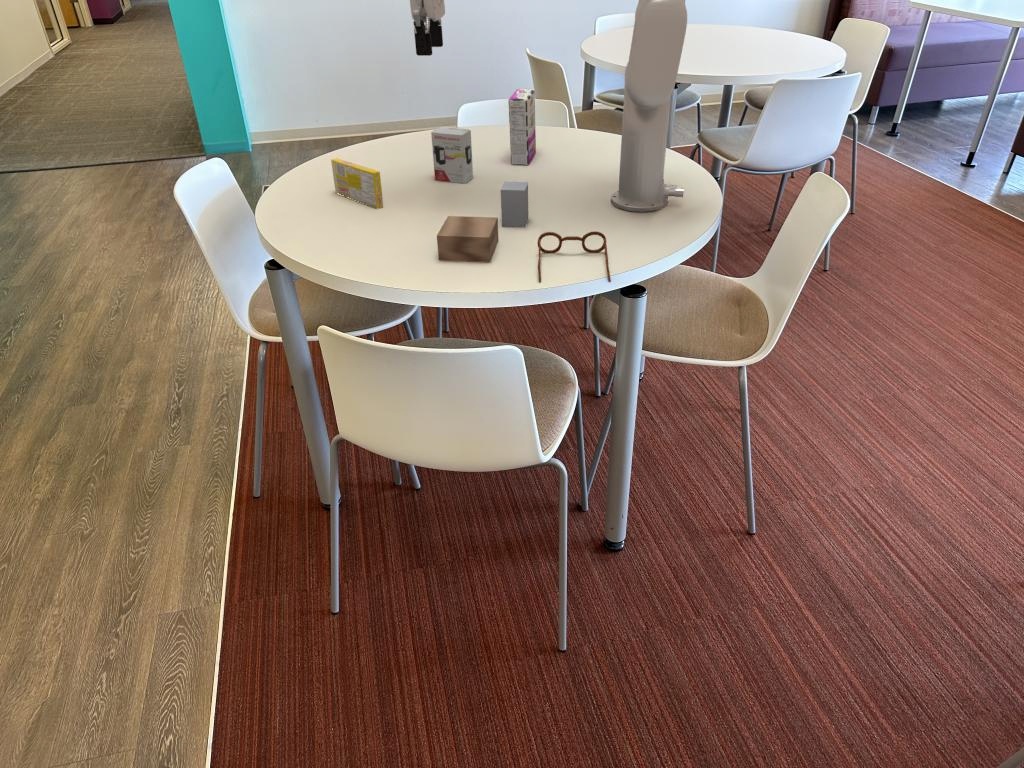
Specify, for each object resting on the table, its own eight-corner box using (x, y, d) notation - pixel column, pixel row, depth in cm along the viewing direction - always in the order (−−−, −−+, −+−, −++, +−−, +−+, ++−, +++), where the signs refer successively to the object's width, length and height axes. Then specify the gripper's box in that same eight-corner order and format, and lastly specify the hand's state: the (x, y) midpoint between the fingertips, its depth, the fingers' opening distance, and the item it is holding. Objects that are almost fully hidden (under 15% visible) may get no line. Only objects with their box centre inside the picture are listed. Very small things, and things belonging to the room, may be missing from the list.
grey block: (528, 218, 154) (527, 182, 149) (525, 227, 150) (524, 190, 145) (505, 218, 154) (504, 181, 150) (501, 227, 150) (500, 189, 146)
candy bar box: (518, 152, 193) (516, 88, 184) (536, 153, 192) (535, 88, 183) (509, 165, 184) (507, 98, 175) (528, 166, 183) (527, 98, 174)
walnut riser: (498, 241, 144) (497, 217, 141) (490, 262, 136) (489, 237, 133) (449, 239, 145) (448, 216, 142) (438, 260, 137) (436, 235, 134)
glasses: (605, 253, 139) (606, 229, 136) (611, 284, 128) (612, 258, 125) (537, 254, 139) (537, 230, 136) (537, 284, 128) (537, 258, 126)
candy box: (385, 207, 162) (380, 170, 157) (377, 209, 161) (372, 173, 156) (342, 191, 171) (336, 157, 167) (335, 194, 170) (329, 159, 165)
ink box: (433, 180, 176) (429, 131, 169) (442, 174, 180) (438, 126, 173) (465, 184, 173) (462, 134, 166) (473, 177, 177) (471, 128, 170)
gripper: (430, -43, 131) (438, 58, 141) (450, -49, 145) (456, 43, 155) (390, -42, 132) (401, 58, 142) (414, -49, 146) (422, 43, 156)
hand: (430, 50), depth 148 cm, fingers open, 9 cm apart
